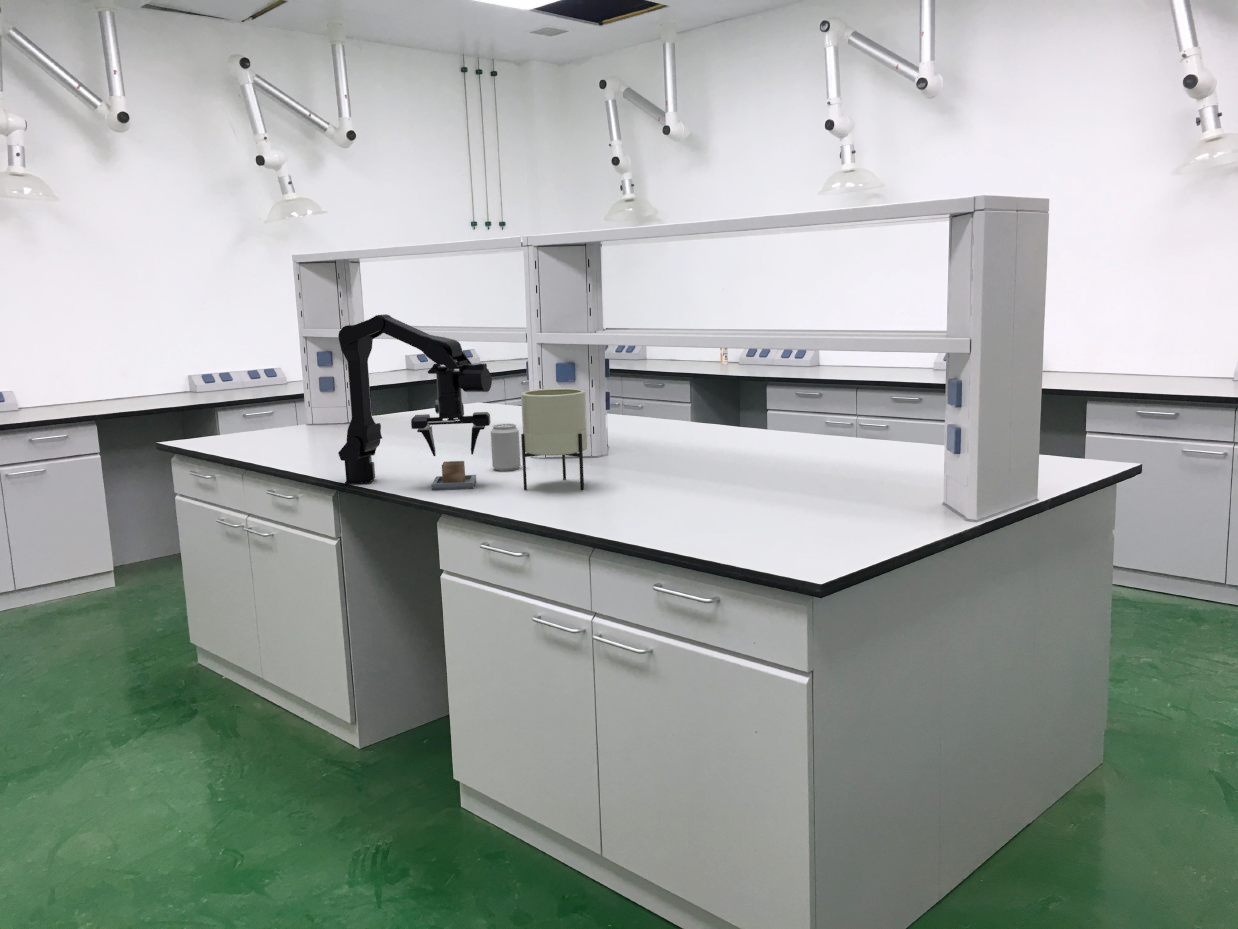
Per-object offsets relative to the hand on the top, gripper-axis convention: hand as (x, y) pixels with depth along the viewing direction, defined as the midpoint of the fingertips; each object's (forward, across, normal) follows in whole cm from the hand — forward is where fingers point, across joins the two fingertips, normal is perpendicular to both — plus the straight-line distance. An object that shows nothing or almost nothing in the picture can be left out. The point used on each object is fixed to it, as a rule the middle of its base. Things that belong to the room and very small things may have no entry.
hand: (453, 455), depth 240 cm
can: (+8, -12, -19) cm, 24 cm away
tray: (+8, 0, 0) cm, 8 cm away
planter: (+8, -25, +7) cm, 27 cm away
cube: (+7, 0, 0) cm, 7 cm away
